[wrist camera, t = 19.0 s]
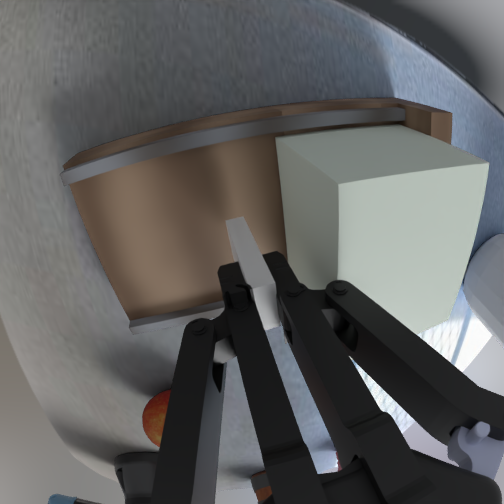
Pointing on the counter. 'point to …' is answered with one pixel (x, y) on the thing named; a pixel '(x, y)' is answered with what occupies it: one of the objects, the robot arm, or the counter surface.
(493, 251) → the soap bottle
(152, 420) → the apple
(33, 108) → the counter surface
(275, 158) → the housing base
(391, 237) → the cover
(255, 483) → the mug
